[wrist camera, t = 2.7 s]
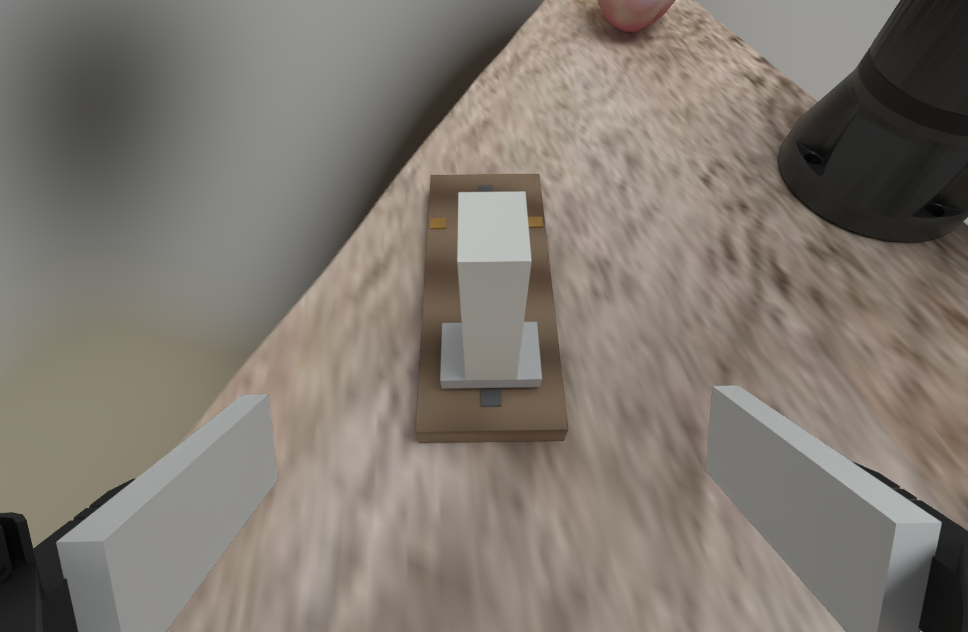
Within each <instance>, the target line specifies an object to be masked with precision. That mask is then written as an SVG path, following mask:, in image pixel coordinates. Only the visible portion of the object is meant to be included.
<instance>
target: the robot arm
mask: <svg viewBox="0 0 968 632" xmlns="http://www.w3.org/2000/svg"><path fill="white" fill-rule="evenodd" d="M779 167H780V171H781V173H782V176H783V178H784V180H785V182H786V183H787V185H788V186H789V188H790V189H791V190H792V191H793V193H794V194H795V195H796V196H797V197H798V198H799V199H800V200H801V201H802V202H803V203H804V204H806V205H807V206H808V207H809V208H811V209H812V210H813V211H815V212H816V213H818V214H819V215H821V216H822V217H824V218H826V219H827V220H829V221H831V222H833V223H835V224H837V225H839V226H841V227H843V228H846V229H848V230H851V231H853V232H856V233H859V234H862V235H865V236H869V237H873V238H877V239H882V240H888V241H897V242H919V241H927V240H932V239H935V238H939V237H941V236H944V235H946V234H948V233H949V232H951V231H952V230H954V229H955V228H956V227H957V226H958V225H959V224H961V223H962V222H963V221H964V220H965V219H966V218H967V217H968V0H900V2H899V4H898V5H897V7H896V8H895V10H894V11H893V13H892V14H891V16H890V18H889V19H888V20H887V22H886V23H885V25H884V26H883V28H882V29H881V31H880V32H879V34H878V35H877V37H876V38H875V40H874V41H873V43H872V45H871V46H870V48H869V49H868V51H867V52H866V54H865V56H864V57H863V59H862V60H861V61H860V63H859V64H858V66H857V67H856V69H855V70H854V71H853V72H852V73H851V74H849V75H848V76H847V77H846V78H845V79H844V80H843V81H842V82H840V83H839V84H838V85H837V86H836V87H835V88H834V89H832V90H831V91H830V92H829V93H828V94H827V95H826V96H824V97H823V98H822V99H821V100H820V101H819V102H818V103H817V104H815V105H814V106H813V107H812V108H811V109H810V110H809V111H807V112H806V113H805V114H804V115H803V116H802V117H801V118H800V119H799V120H798V121H797V122H796V124H795V125H794V126H793V128H792V129H791V131H790V133H789V134H788V136H787V138H786V139H785V141H784V143H783V144H782V146H781V148H780V152H779ZM705 471H706V472H707V473H708V474H709V476H710V477H711V478H712V479H713V480H714V481H715V482H716V484H717V485H718V486H719V487H720V488H721V489H722V490H723V492H724V493H725V494H726V495H727V496H728V497H729V498H730V500H731V501H732V502H733V503H734V504H735V505H736V506H737V508H738V509H739V510H740V511H741V512H742V513H743V514H744V516H745V517H746V518H747V519H748V520H749V521H750V522H751V524H752V525H753V526H754V527H755V528H756V529H757V530H758V532H759V533H760V534H761V535H762V536H763V537H764V538H765V540H766V541H767V542H768V543H769V544H770V545H771V546H772V548H773V549H774V550H775V551H776V552H777V553H778V554H779V556H780V557H781V558H782V559H783V560H784V561H785V562H786V564H787V565H788V566H789V567H790V568H791V569H792V570H793V572H794V573H795V574H796V575H797V576H798V577H799V578H800V579H801V581H802V582H803V583H804V584H805V585H806V586H807V587H808V589H809V590H810V591H811V592H812V593H813V594H814V595H815V597H816V598H817V599H818V600H819V601H820V602H821V603H822V605H823V606H824V607H825V608H826V609H827V610H828V611H829V613H830V614H831V615H832V616H833V617H834V618H835V619H836V621H837V622H838V623H839V624H840V625H841V626H842V627H843V629H844V630H845V631H846V632H920V630H921V631H922V632H968V531H967V530H965V529H964V528H962V527H961V526H959V525H958V524H956V523H955V522H953V521H952V520H950V519H949V518H947V517H946V516H944V515H942V514H941V513H939V512H938V511H936V510H935V509H933V508H932V507H930V506H929V505H927V504H926V503H924V502H923V501H921V500H917V497H915V496H913V495H912V494H910V493H909V492H907V491H906V490H904V489H900V486H898V485H897V484H895V483H894V482H892V481H891V480H889V479H888V478H886V477H884V476H883V475H881V474H880V473H878V472H875V471H873V470H871V469H868V468H866V467H864V466H861V465H859V464H857V463H854V462H851V461H850V460H848V459H847V458H845V457H844V456H842V455H841V454H839V453H838V452H836V451H835V450H833V449H832V448H830V447H829V446H827V445H826V444H824V443H823V442H821V441H820V440H819V439H817V438H816V437H814V436H813V435H811V434H810V433H808V432H807V431H805V430H804V429H802V428H801V427H799V426H798V425H796V424H795V423H793V422H792V421H790V420H789V419H787V418H786V417H784V416H783V415H781V414H780V413H778V412H777V411H775V410H774V409H772V408H771V407H769V406H768V405H766V404H765V403H764V402H762V401H761V400H759V399H758V398H756V397H755V396H753V395H752V394H750V393H749V392H747V391H746V390H744V389H743V388H741V387H740V386H738V385H737V386H713V387H712V399H711V410H710V422H709V434H708V445H707V457H706V469H705ZM277 480H278V478H277V469H276V460H275V451H274V442H273V433H272V424H271V415H270V406H269V397H268V394H261V395H241V396H240V397H239V398H237V399H236V400H235V401H234V402H232V403H231V404H230V405H229V406H227V407H226V408H225V409H224V410H222V411H221V412H220V413H218V414H217V415H216V416H215V417H213V418H212V419H211V420H210V421H208V422H207V423H206V424H205V425H203V426H202V427H201V428H200V429H198V430H197V431H196V432H194V433H193V434H192V435H191V436H189V437H188V438H187V439H186V440H184V441H183V442H182V443H181V444H179V445H178V446H177V447H176V448H174V449H173V450H172V451H171V452H169V453H168V454H167V455H165V456H164V457H163V458H162V459H161V460H159V461H158V462H157V463H155V464H154V465H153V466H152V467H150V468H149V469H148V470H147V471H145V472H144V473H143V474H142V475H140V476H139V477H138V478H136V479H132V480H130V481H128V482H126V483H124V484H122V485H120V486H118V487H116V488H114V489H112V490H110V491H108V492H107V493H105V494H104V495H103V496H101V497H100V498H99V499H97V500H96V501H95V502H94V503H92V504H91V505H90V507H89V508H86V509H84V510H83V511H82V512H80V513H79V514H78V515H77V516H75V517H74V520H73V521H69V522H67V523H66V524H65V525H64V526H62V527H61V528H60V529H58V530H57V531H56V532H54V533H53V534H52V535H50V536H49V537H48V538H47V539H45V540H44V541H43V542H41V543H40V544H39V545H37V546H36V547H35V548H33V546H32V542H31V538H30V533H29V529H28V525H27V520H26V519H25V517H24V516H23V514H17V513H12V512H11V513H0V632H166V631H167V630H168V628H169V627H170V626H171V624H172V623H173V622H174V620H175V619H176V617H177V616H178V615H179V613H180V612H181V611H182V609H183V608H184V607H185V605H186V604H187V602H188V601H189V600H190V598H191V597H192V596H193V594H194V593H195V592H196V590H197V589H198V587H199V586H200V585H201V583H202V582H203V581H204V579H205V578H206V577H207V575H208V574H209V573H210V571H211V570H212V568H213V567H214V566H215V564H216V563H217V562H218V560H219V559H220V558H221V556H222V555H223V553H224V552H225V551H226V549H227V548H228V547H229V545H230V544H231V543H232V541H233V540H234V538H235V537H236V536H237V534H238V533H239V532H240V530H241V529H242V528H243V526H244V525H245V524H246V522H247V521H248V519H249V518H250V517H251V515H252V514H253V513H254V511H255V510H256V509H257V507H258V506H259V504H260V503H261V502H262V500H263V499H264V498H265V496H266V495H267V494H268V492H269V491H270V489H271V488H272V487H273V485H274V484H275V483H276V481H277Z"/></svg>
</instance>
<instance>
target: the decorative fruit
mask: <svg viewBox="0 0 968 632" xmlns="http://www.w3.org/2000/svg"><path fill="white" fill-rule="evenodd" d="M674 2H675V0H599V3H600V6H601V9H602V11H603V13H604V16H605V17H606V19H607V20H608V21H609V22H610V23H611V24H612V25H613V26H615V27H616V28H618V29H620V30H623V31H625V32H628V33H632V32H635V31H638V30H641V29H643V28H644V27H646V26H648V25H650V24H652V23H653V22H655V21H656V20H658V19H659V18H660V17H662V16H663V15H664V14H665V13H666V11H667V10H668V9H669V8H670V7H671V5H672V4H673V3H674Z"/></svg>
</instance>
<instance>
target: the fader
mask: <svg viewBox="0 0 968 632" xmlns="http://www.w3.org/2000/svg"><path fill="white" fill-rule="evenodd" d="M531 262H532V260H531V249H530V238H529V226H528V215H527V204H526V192H525V191H521V192H458V254H457V264H458V278H459V292H460V306H461V320H462V323H442V344H441V374H440V382H441V388H442V389H446V388H508V387H540V386H541V382H542V373H541V361H540V350H539V339H538V327H537V322H524V317H525V309H526V301H527V294H528V286H529V278H530V270H531Z"/></svg>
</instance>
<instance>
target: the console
mask: <svg viewBox="0 0 968 632" xmlns="http://www.w3.org/2000/svg"><path fill="white" fill-rule="evenodd" d="M521 191H525V192H526V204H527V215H528V226H529V238H530V249H531V260H532V262H531V270H530V278H529V286H528V294H527V301H526V309H525V317H524V322H537V327H538V339H539V350H540V361H541V373H542V382H541V386H540V387H508V388H446V389H442V388H441V382H440V374H441V344H442V323H462V320H461V306H460V292H459V278H458V264H457V254H458V192H521ZM567 431H568V424H567V415H566V406H565V397H564V388H563V379H562V371H561V362H560V353H559V344H558V335H557V326H556V317H555V308H554V300H553V291H552V282H551V273H550V264H549V255H548V246H547V237H546V229H545V220H544V211H543V202H542V193H541V184H540V175H539V174H482V175H431V179H430V196H429V213H428V230H427V247H426V264H425V281H424V298H423V315H422V332H421V349H420V365H419V382H418V399H417V416H416V435H417V438H418V441H419V443H451V442H510V441H564V438H565V436H566V433H567Z"/></svg>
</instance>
